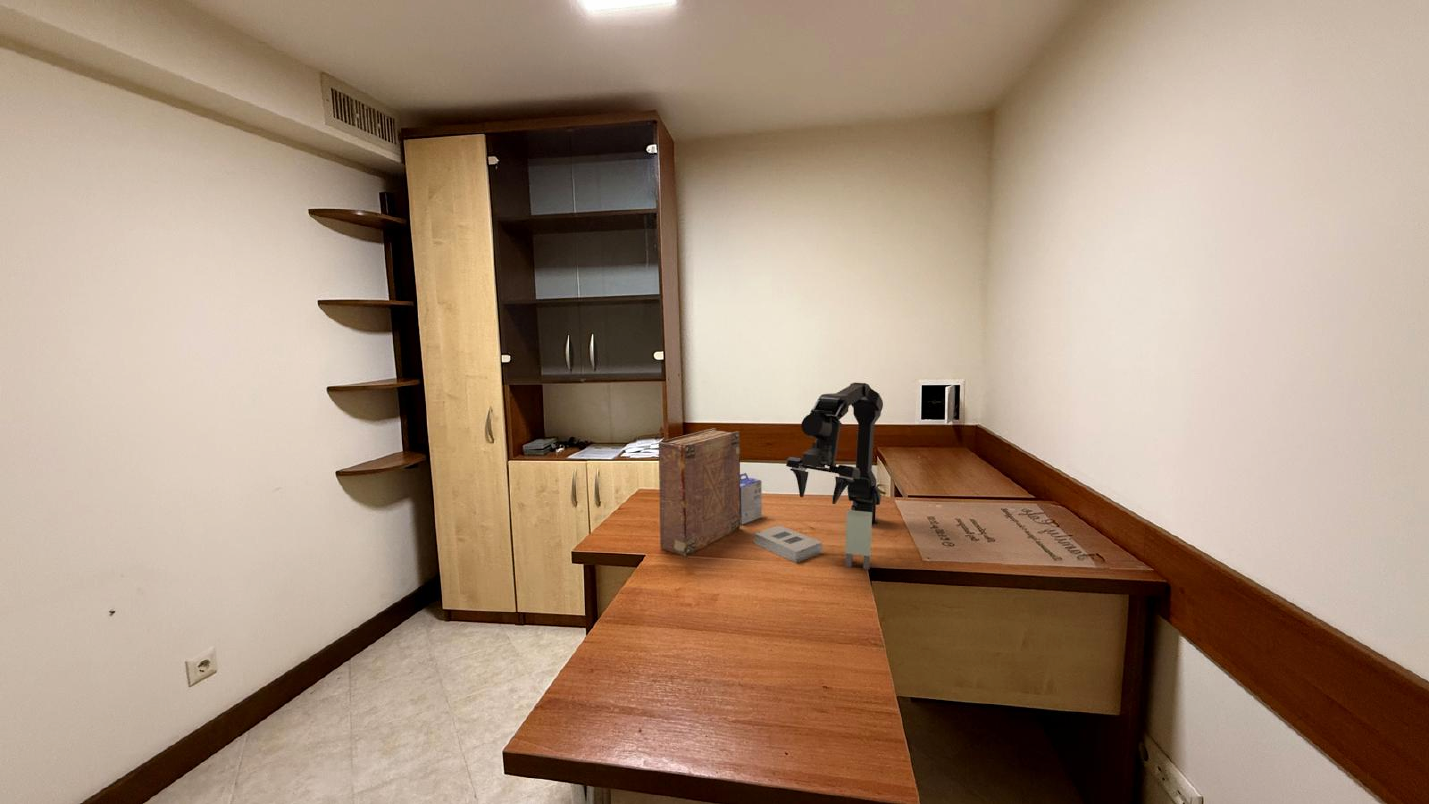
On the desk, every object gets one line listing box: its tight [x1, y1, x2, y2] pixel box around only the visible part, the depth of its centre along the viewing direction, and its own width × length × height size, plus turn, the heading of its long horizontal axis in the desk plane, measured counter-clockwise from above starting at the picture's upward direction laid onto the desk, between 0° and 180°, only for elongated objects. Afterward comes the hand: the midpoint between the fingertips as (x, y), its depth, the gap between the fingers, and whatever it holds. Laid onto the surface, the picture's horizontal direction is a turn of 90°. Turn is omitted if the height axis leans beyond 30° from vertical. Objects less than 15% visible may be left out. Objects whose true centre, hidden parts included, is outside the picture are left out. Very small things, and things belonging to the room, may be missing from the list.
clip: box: [845, 509, 873, 570], centre depth 134 cm, size 4×6×14 cm, turn 72°
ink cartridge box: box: [740, 472, 763, 526], centre depth 167 cm, size 10×6×14 cm, turn 134°
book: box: [658, 427, 741, 558], centre depth 150 cm, size 25×9×30 cm, turn 143°
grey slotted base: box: [753, 524, 823, 564], centre depth 145 cm, size 10×16×3 cm, turn 38°
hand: (817, 500), depth 138 cm, fingers open, 9 cm apart
